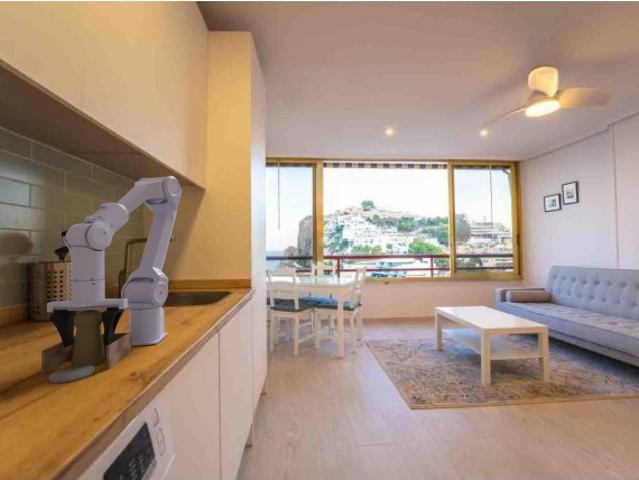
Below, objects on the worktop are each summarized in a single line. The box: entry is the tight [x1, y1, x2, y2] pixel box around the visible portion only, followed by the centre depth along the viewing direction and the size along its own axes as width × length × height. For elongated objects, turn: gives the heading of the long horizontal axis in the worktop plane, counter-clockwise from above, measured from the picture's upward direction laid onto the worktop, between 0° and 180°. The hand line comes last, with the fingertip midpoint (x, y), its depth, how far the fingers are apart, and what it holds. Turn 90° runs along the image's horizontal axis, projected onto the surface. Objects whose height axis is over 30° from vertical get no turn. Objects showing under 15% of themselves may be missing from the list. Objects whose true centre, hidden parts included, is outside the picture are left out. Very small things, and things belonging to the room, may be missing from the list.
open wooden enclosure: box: [41, 332, 133, 375], centre depth 68 cm, size 10×12×4 cm
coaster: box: [48, 365, 96, 384], centre depth 61 cm, size 7×7×1 cm
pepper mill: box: [70, 310, 107, 367], centre depth 67 cm, size 6×6×11 cm
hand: (88, 344), depth 67 cm, fingers open, 7 cm apart
